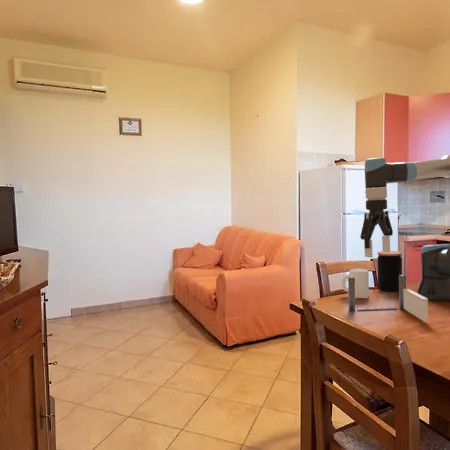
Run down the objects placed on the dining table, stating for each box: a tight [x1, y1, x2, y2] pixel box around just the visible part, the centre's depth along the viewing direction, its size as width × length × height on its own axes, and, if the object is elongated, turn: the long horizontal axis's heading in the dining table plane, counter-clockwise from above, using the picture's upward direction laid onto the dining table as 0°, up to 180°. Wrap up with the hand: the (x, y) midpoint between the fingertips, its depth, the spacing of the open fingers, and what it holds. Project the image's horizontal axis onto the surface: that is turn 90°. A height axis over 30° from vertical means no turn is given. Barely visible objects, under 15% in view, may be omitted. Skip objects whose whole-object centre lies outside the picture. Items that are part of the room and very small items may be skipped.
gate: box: [403, 288, 429, 322], centre depth 137 cm, size 15×2×8 cm, turn 179°
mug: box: [340, 268, 370, 299], centre depth 168 cm, size 8×12×12 cm
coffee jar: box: [377, 250, 403, 293], centre depth 178 cm, size 11×11×18 cm
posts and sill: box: [347, 274, 407, 312], centre depth 147 cm, size 23×3×14 cm, turn 89°
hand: (377, 254), depth 143 cm, fingers open, 13 cm apart
